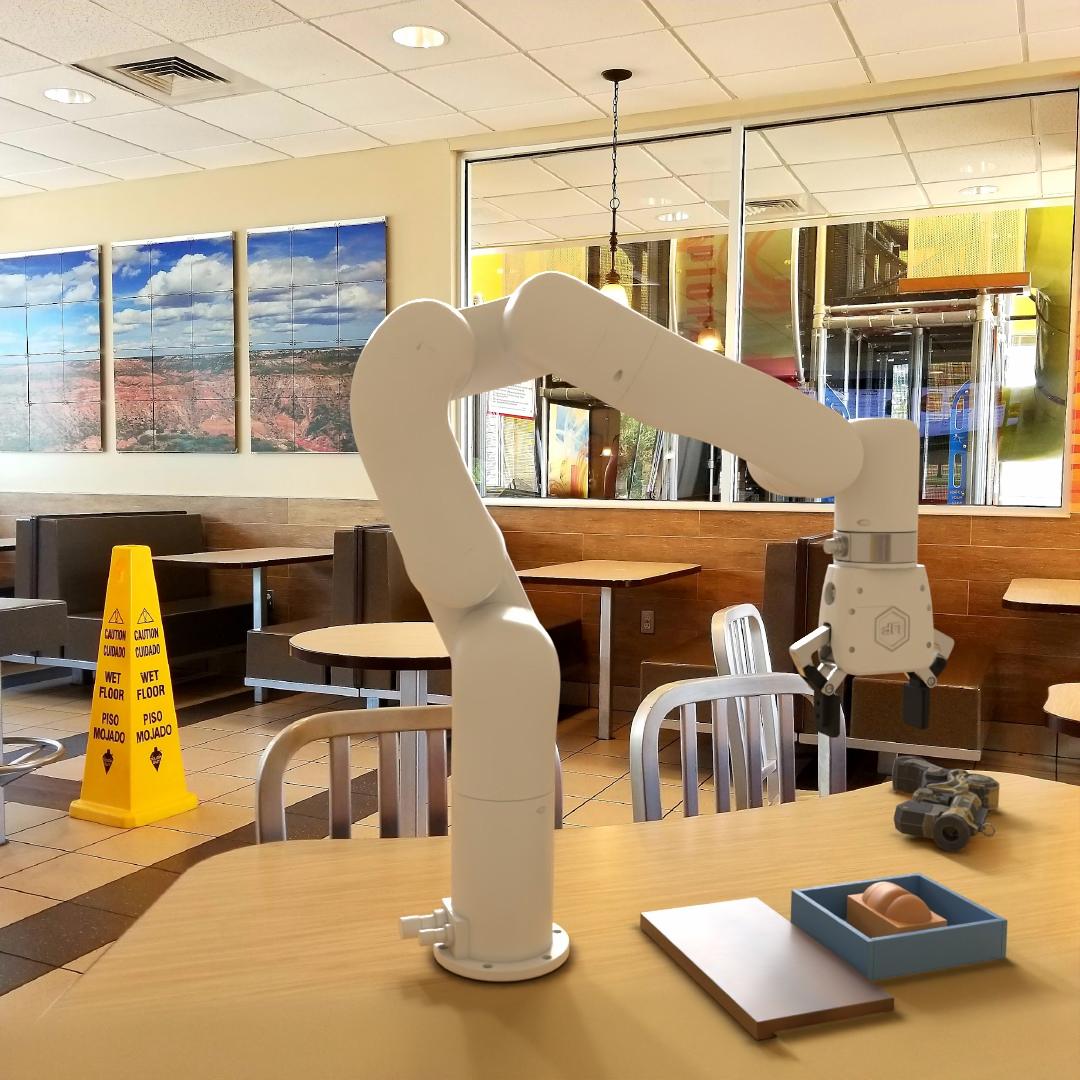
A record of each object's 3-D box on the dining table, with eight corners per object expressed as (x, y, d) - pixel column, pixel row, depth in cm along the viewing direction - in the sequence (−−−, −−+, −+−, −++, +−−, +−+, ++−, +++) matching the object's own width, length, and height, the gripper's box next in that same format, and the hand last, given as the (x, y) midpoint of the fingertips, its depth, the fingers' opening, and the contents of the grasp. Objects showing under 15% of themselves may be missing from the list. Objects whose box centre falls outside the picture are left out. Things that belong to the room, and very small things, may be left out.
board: (756, 1040, 84) (757, 1022, 84) (639, 927, 105) (640, 912, 105) (894, 1015, 89) (895, 997, 89) (756, 911, 109) (756, 896, 109)
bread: (897, 962, 97) (899, 908, 97) (846, 927, 105) (847, 877, 104) (946, 953, 99) (948, 901, 99) (892, 920, 106) (893, 871, 106)
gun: (861, 799, 132) (993, 821, 125) (897, 752, 154) (1010, 768, 148) (859, 837, 132) (991, 860, 125) (895, 784, 155) (1008, 801, 148)
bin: (867, 986, 94) (868, 941, 93) (790, 929, 105) (791, 889, 105) (1006, 962, 99) (1007, 919, 98) (918, 910, 110) (919, 872, 110)
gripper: (816, 556, 94) (813, 747, 95) (979, 551, 100) (975, 732, 101) (772, 549, 101) (770, 728, 103) (927, 545, 107) (923, 715, 108)
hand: (871, 730), depth 102 cm, fingers open, 9 cm apart
